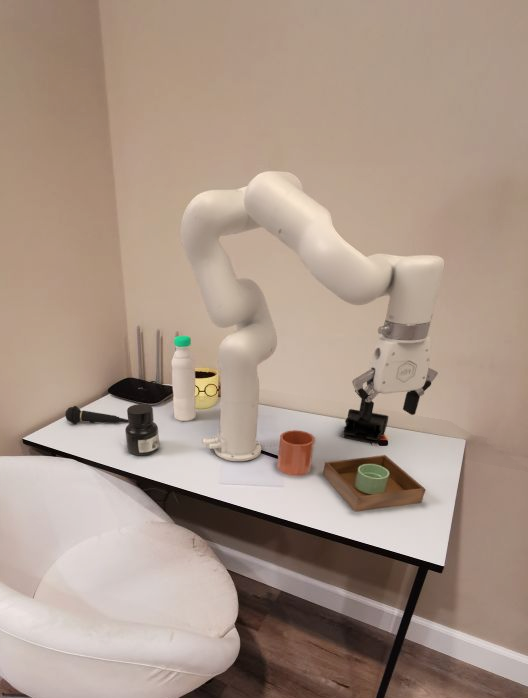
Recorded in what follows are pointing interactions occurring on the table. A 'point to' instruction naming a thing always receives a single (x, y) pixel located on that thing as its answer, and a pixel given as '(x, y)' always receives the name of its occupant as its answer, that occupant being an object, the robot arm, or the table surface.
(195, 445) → the table surface
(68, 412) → the microphone
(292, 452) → the cup
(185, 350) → the water bottle
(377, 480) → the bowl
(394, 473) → the tray
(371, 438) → the black angular box
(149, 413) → the ink bottle
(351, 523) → the table surface
